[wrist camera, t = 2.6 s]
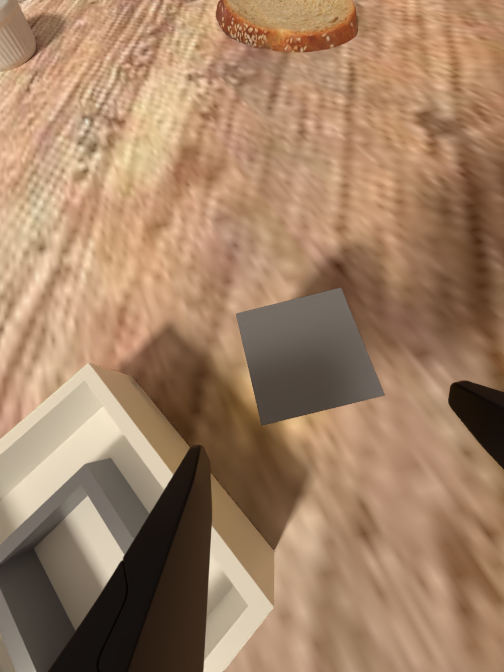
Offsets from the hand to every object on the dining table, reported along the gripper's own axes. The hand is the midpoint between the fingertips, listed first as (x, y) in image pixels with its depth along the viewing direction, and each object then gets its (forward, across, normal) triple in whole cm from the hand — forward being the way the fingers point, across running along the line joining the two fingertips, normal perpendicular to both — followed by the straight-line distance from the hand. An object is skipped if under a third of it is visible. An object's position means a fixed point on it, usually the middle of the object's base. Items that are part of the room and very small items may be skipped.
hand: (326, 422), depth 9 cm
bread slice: (+45, -13, -29) cm, 55 cm away
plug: (+9, 0, +5) cm, 10 cm away
